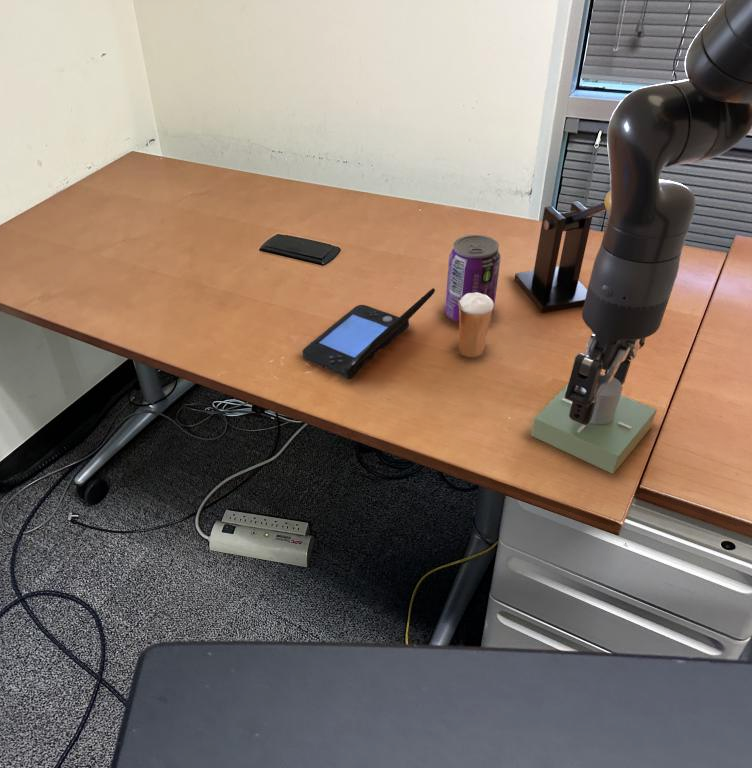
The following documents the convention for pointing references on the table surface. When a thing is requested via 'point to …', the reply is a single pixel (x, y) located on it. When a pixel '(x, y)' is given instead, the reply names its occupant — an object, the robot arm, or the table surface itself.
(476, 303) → the milkshake
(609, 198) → the latch lever
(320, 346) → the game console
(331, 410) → the table surface
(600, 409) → the lock knob
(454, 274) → the beverage can
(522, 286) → the latch bracket
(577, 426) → the green dial knob panel
